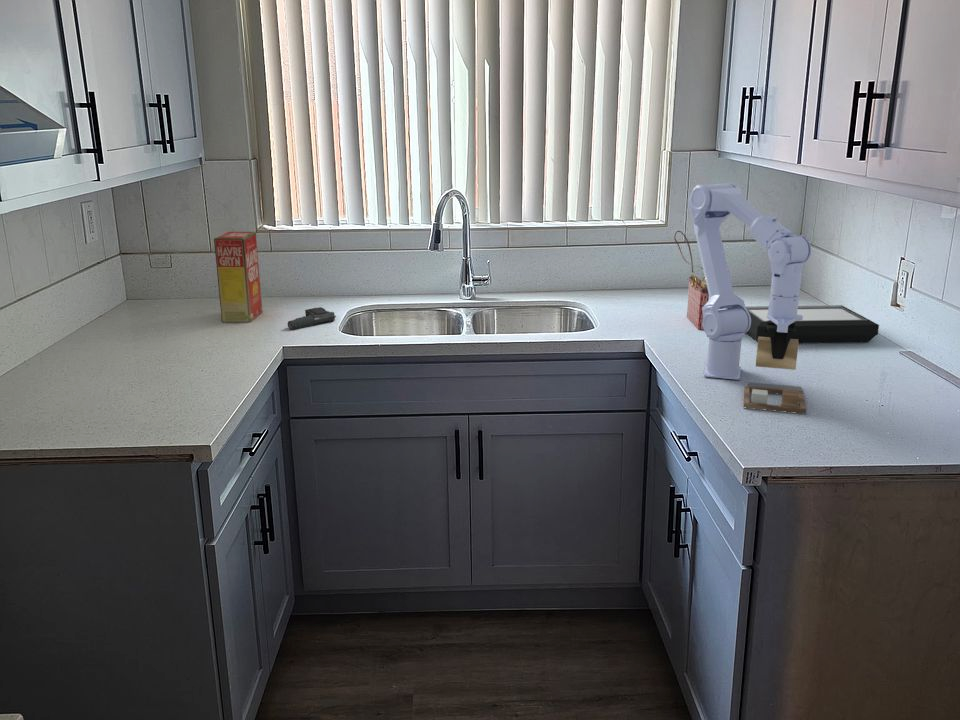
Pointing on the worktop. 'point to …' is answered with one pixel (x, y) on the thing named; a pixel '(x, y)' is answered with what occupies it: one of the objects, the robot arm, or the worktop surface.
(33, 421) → the worktop surface
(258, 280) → the food packaging
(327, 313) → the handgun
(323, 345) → the worktop surface
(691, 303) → the handbag
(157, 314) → the worktop surface
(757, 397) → the offcut grey
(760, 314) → the electronic device
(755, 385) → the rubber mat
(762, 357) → the oak board
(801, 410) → the frame
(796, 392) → the offcut dark
